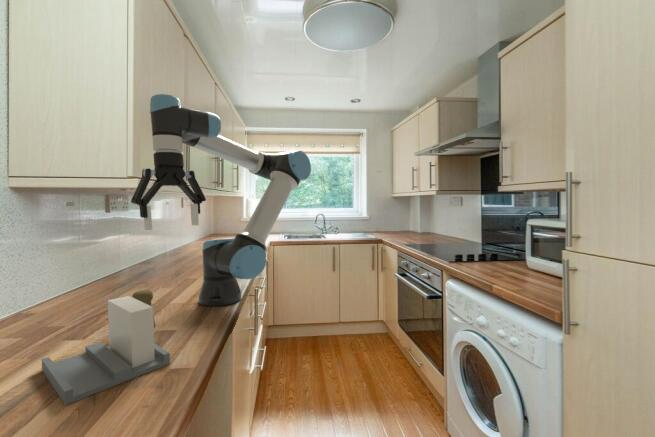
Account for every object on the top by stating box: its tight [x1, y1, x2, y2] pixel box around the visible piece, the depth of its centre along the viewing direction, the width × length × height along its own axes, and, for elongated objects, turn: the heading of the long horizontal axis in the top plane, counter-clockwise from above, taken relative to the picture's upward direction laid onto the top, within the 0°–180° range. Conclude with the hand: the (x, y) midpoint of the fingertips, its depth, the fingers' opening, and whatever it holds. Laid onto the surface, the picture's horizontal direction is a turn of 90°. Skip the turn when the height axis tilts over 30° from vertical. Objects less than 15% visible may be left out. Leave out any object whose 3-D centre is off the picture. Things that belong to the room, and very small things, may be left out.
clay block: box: [107, 295, 155, 368], centre depth 72 cm, size 4×14×12 cm, turn 52°
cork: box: [131, 289, 156, 329], centre depth 90 cm, size 6×6×11 cm
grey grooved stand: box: [41, 341, 171, 406], centre depth 68 cm, size 18×19×2 cm
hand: (173, 227), depth 89 cm, fingers open, 13 cm apart
